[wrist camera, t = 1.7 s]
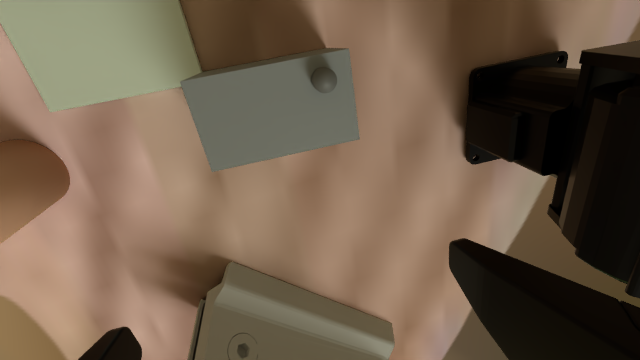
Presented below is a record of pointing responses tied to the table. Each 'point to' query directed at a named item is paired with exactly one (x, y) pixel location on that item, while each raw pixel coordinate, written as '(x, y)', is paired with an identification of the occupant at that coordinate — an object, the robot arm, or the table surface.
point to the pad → (100, 47)
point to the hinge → (282, 323)
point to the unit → (273, 107)
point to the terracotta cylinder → (28, 183)
